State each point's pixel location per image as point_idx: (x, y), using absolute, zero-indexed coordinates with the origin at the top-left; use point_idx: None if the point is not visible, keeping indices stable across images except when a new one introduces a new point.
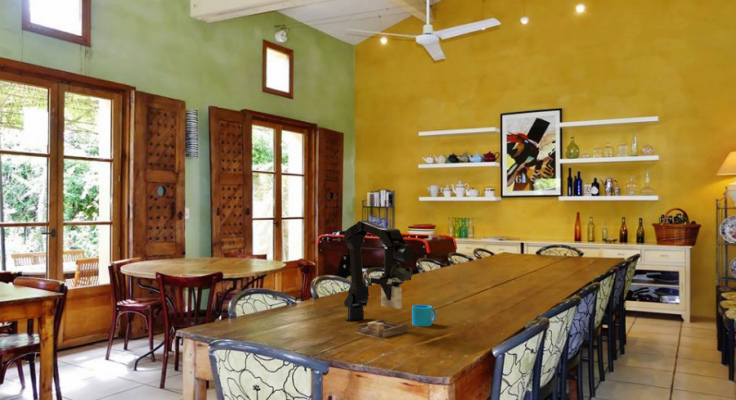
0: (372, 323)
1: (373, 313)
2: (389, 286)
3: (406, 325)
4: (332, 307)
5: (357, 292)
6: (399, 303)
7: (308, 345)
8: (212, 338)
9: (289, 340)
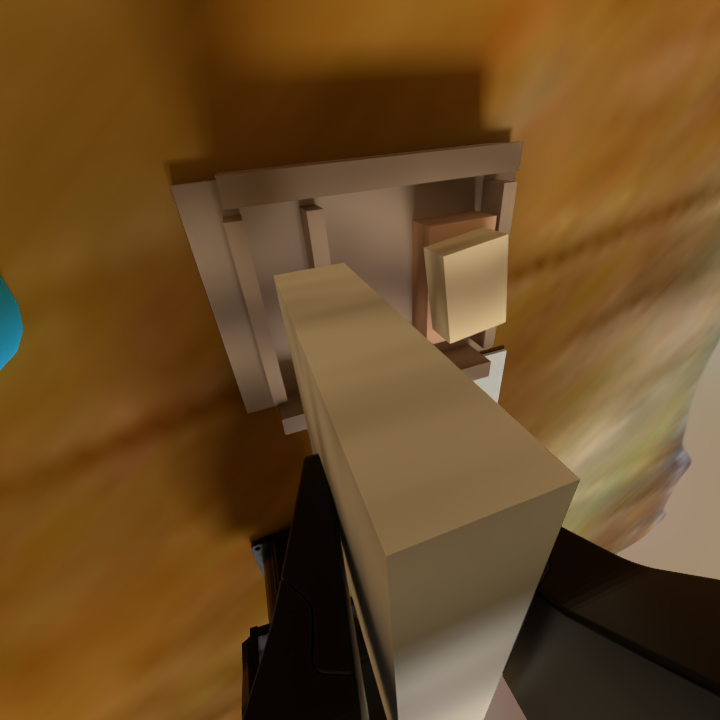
0: (500, 293)
1: (117, 645)
2: (714, 580)
3: (231, 173)
4: (234, 707)
5: (378, 699)
6: (339, 288)
7: (690, 295)
8: (684, 469)
9: (651, 382)
